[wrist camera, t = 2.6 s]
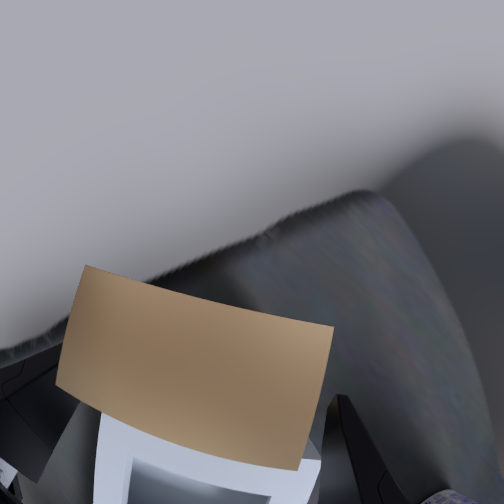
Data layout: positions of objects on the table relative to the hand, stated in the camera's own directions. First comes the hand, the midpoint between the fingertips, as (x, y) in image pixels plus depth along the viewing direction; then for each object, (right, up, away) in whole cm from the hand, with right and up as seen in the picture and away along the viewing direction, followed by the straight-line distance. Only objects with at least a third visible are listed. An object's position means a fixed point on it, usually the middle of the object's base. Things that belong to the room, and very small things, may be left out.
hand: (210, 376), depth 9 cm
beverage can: (+17, -18, +2) cm, 25 cm away
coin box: (-3, -15, +3) cm, 15 cm away
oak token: (0, -2, +8) cm, 8 cm away
